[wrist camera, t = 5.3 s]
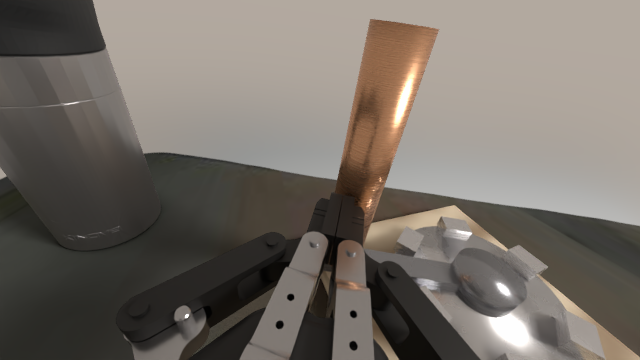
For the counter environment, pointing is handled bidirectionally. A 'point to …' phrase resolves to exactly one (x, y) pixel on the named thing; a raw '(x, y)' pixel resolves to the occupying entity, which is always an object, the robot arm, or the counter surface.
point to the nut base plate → (389, 231)
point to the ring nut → (449, 224)
